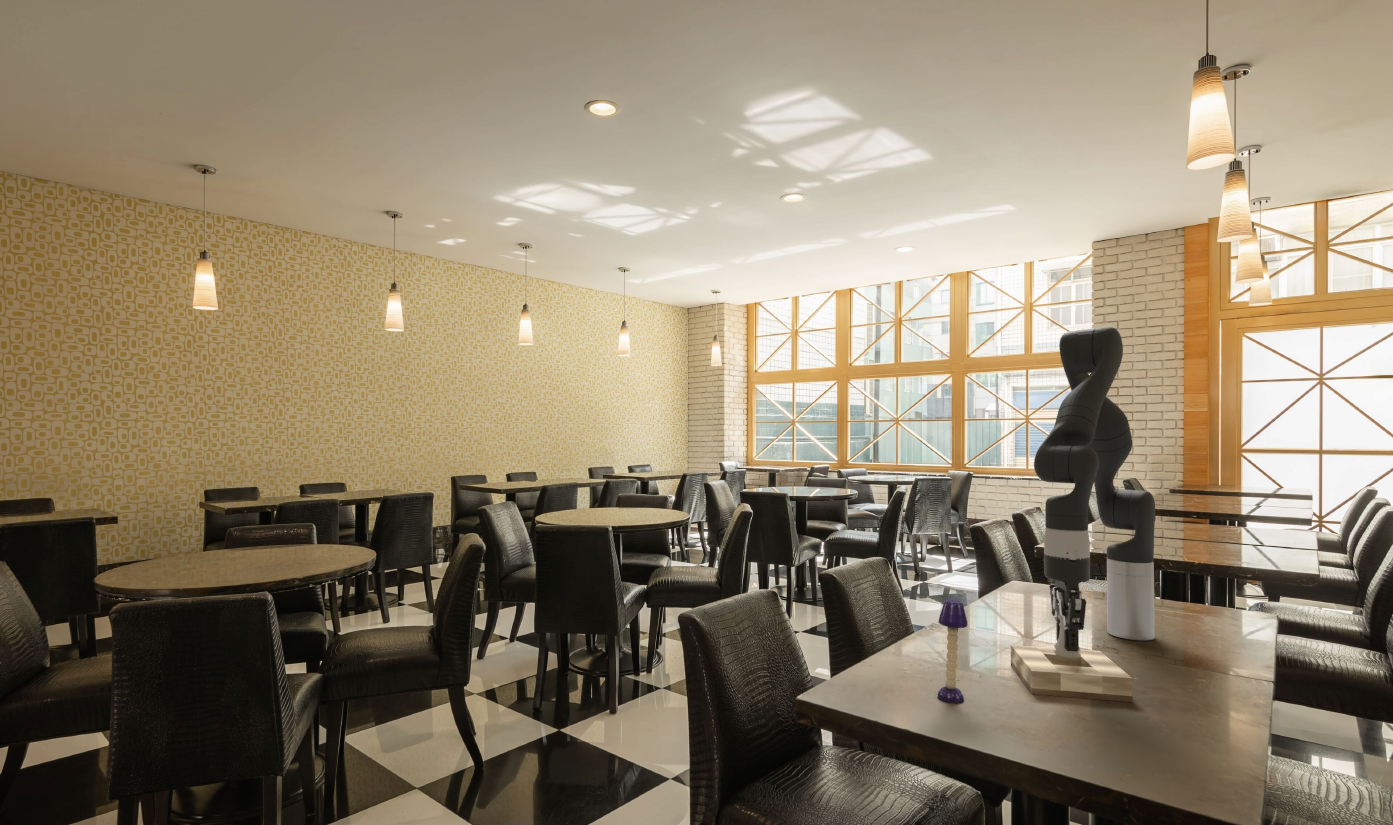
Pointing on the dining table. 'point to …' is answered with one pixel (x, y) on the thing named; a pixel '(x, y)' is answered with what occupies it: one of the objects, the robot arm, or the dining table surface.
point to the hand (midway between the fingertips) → (1067, 646)
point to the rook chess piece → (1059, 645)
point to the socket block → (1071, 674)
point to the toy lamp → (952, 647)
